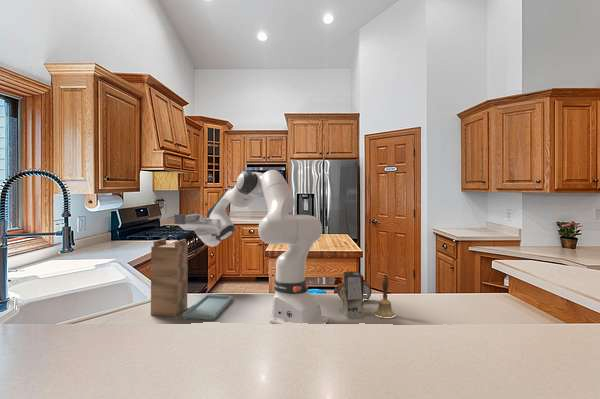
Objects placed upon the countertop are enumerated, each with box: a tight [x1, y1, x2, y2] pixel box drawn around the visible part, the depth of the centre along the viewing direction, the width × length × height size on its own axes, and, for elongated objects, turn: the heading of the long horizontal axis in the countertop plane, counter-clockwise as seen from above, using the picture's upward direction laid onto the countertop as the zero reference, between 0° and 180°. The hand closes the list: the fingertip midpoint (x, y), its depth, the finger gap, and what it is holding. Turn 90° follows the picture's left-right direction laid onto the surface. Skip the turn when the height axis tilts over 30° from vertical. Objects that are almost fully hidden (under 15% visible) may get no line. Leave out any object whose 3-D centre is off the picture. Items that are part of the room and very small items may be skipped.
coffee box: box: [342, 271, 365, 319], centre depth 134 cm, size 9×6×16 cm
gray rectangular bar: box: [174, 213, 203, 225], centre depth 151 cm, size 20×4×4 cm, turn 175°
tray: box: [181, 294, 233, 321], centre depth 137 cm, size 24×12×2 cm, turn 175°
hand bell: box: [374, 273, 396, 317], centre depth 134 cm, size 8×8×16 cm
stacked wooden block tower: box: [150, 238, 189, 317], centre depth 133 cm, size 10×10×28 cm
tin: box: [337, 281, 372, 301], centre depth 151 cm, size 15×3×8 cm, turn 93°
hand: (194, 216), depth 157 cm, fingers closed on gray rectangular bar, 3 cm apart
